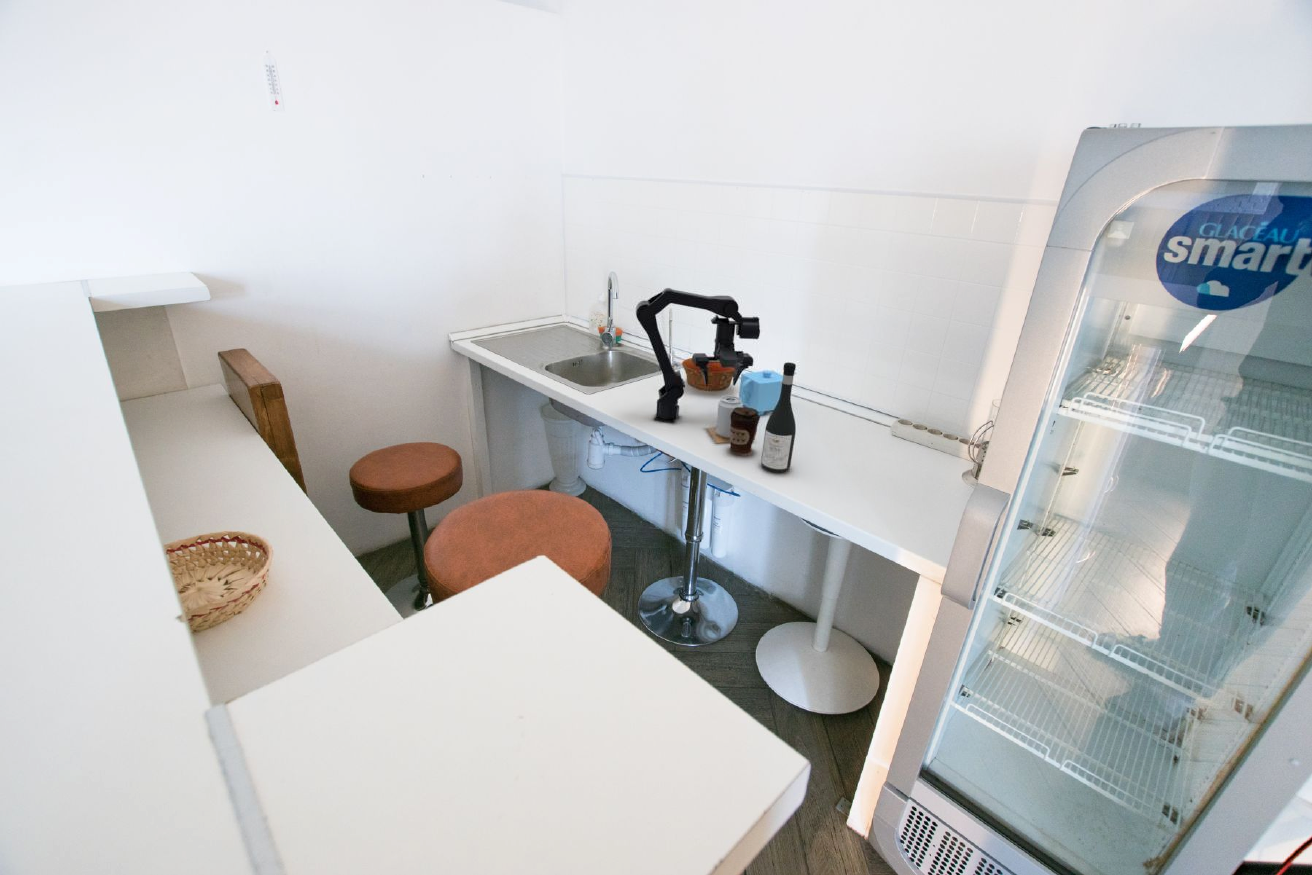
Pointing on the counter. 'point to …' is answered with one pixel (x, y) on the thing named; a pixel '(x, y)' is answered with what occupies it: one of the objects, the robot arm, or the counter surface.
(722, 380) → the bowl
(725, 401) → the can
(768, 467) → the wine bottle
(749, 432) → the coffee cup
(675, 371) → the robot arm
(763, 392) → the teapot
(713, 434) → the coaster
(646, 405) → the counter surface
